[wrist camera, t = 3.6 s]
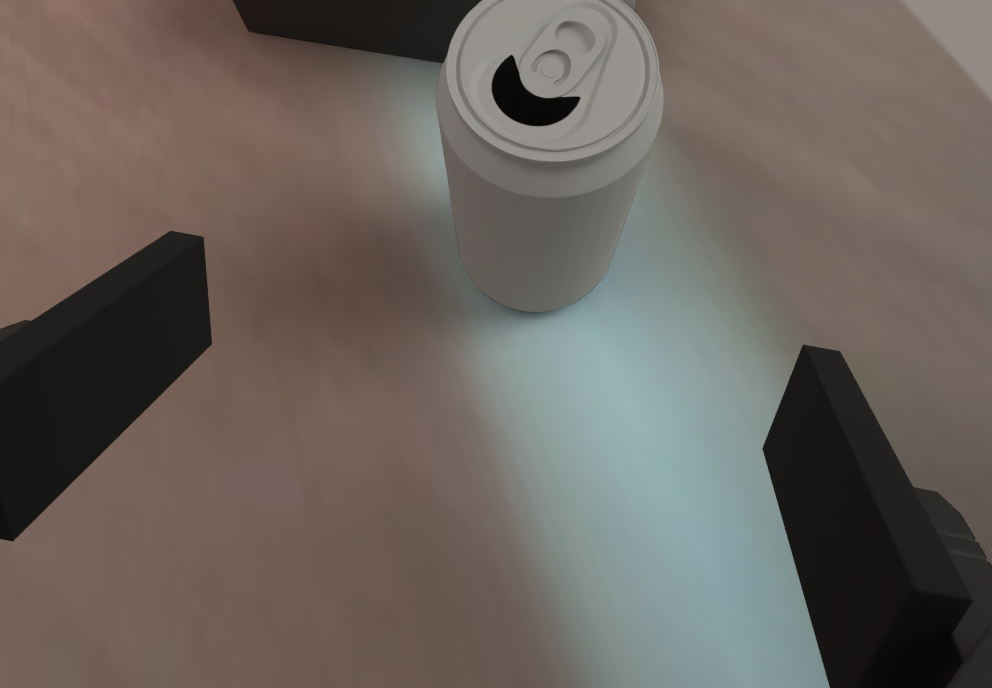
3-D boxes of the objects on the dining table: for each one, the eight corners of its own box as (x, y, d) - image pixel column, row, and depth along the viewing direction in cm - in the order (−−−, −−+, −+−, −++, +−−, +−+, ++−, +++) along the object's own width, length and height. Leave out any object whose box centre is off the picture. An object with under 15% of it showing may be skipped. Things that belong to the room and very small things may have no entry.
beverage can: (428, 261, 31) (381, 88, 19) (518, 150, 32) (525, -75, 20) (553, 348, 30) (582, 220, 18) (641, 230, 31) (721, 39, 19)
